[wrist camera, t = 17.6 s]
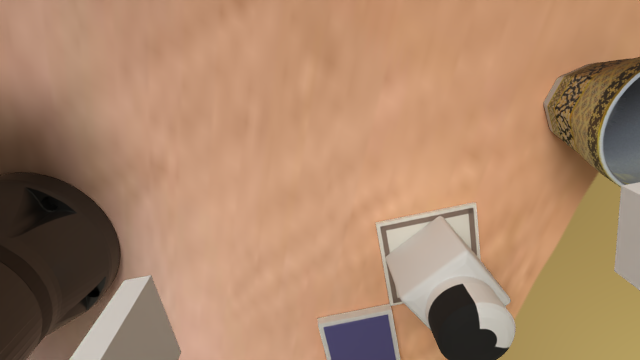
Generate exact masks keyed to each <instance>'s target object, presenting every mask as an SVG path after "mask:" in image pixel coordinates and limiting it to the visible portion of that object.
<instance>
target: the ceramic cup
mask: <svg viewBox="0 0 640 360" xmlns="http://www.w3.org/2000/svg"><path fill="white" fill-rule="evenodd" d="M544 108H545V112H546V116H547V120H548V124H549V128H550V131H552V132H553V133H554V134H555V135H556V136H558V137H559V138H560V139H561V140H563V141H564V142H565V143H566V144H567V145H569V146H570V147H571V148H572V149H574V150H575V151H576V152H578V153H579V154H580V155H581V156H582V157H583V158H584V159H585V160H586V161H587V162H588V163H589V164H590V165H591V166H593V167H594V168H595V169H596V170H598V171H599V172H600V173H601V174H602V175H604V176H606V177H607V178H608V179H610V180H611V181H612V182H614V183H615V184H617V185H618V186H620V187H621V186H622V185H628V184H633V183H638V182H640V57H638V58H633V59H623V60H616V61H608V62H600V63H593V64H588V65H585V66H583V67H580V68H578V69H576V70H574V71H571V72H569V73H567V74H564V75H562V76H560V77H558V78H557V80H556V81H555V83H554V85H553V87H552V88H551V90H550V92H549V94H548V95H547V97H546V99H545V101H544Z"/></svg>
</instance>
